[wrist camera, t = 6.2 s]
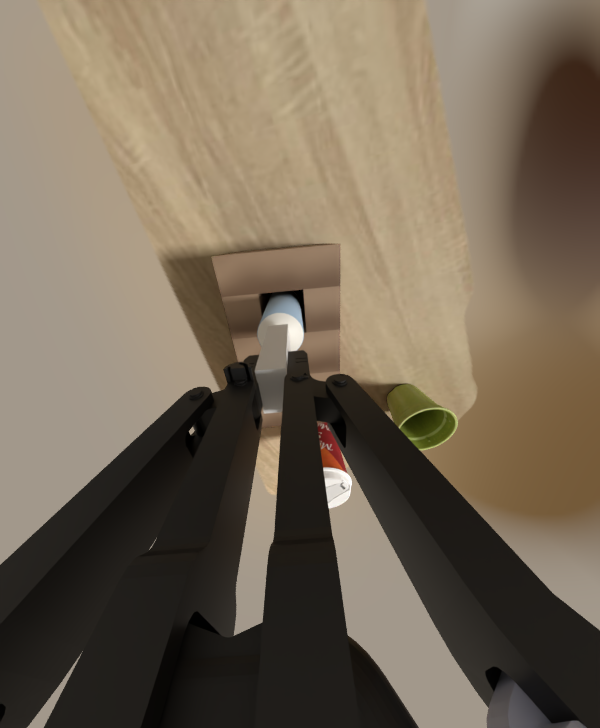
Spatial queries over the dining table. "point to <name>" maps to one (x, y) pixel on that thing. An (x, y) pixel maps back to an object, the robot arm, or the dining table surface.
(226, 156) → the dining table surface
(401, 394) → the plant pot
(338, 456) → the coffee cup
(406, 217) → the dining table surface
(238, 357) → the collar block
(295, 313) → the peg
